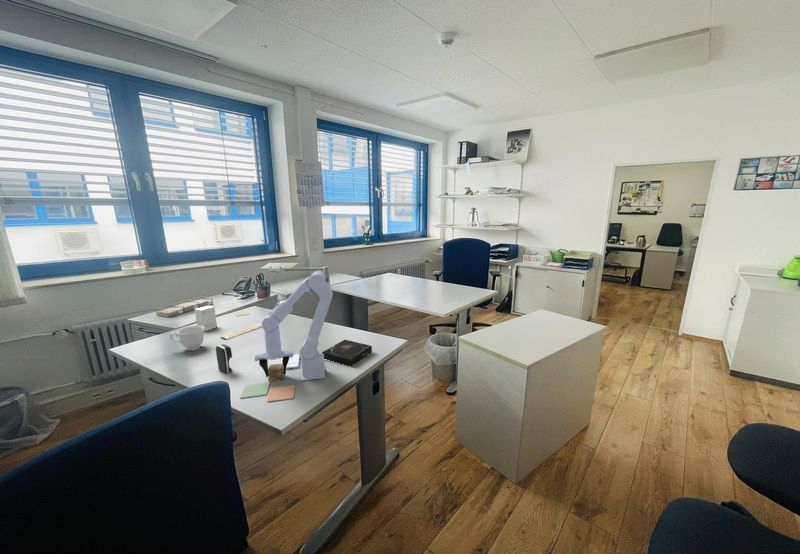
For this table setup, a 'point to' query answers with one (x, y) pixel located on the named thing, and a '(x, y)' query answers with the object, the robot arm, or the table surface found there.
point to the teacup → (190, 337)
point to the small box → (206, 317)
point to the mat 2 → (281, 393)
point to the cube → (275, 372)
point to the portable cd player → (347, 352)
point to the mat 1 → (255, 390)
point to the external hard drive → (292, 361)
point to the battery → (223, 357)
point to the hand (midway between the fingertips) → (276, 374)
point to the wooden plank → (242, 331)
